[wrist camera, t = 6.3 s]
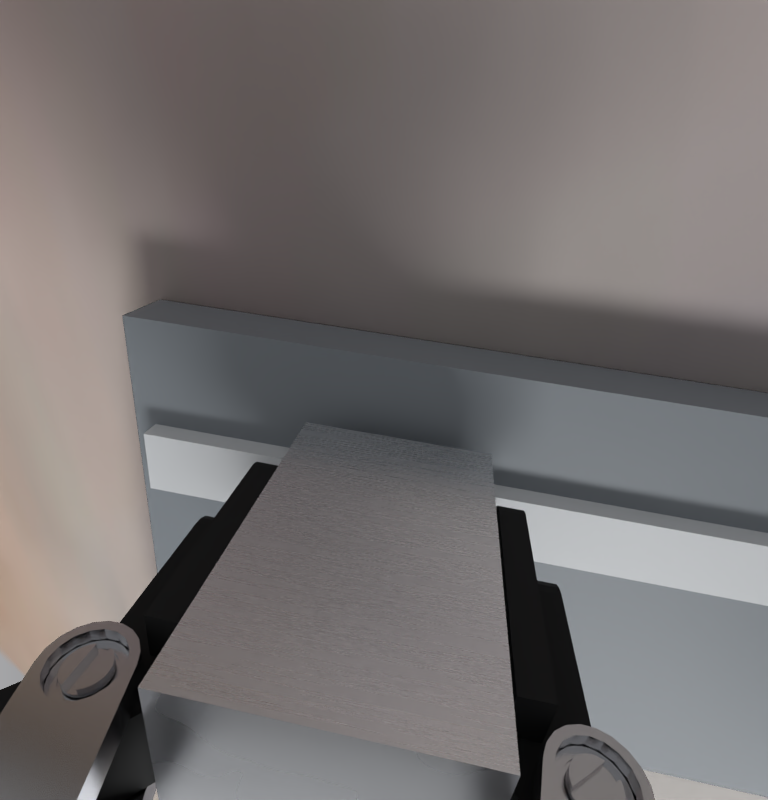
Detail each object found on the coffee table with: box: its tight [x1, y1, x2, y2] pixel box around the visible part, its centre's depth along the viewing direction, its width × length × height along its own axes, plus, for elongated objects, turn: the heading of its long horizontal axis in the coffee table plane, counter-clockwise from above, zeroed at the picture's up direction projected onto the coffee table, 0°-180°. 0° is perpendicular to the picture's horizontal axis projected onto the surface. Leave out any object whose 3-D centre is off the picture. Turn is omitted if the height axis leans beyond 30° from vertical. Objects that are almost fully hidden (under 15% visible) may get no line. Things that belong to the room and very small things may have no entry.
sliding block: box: [138, 422, 520, 800], centre depth 9 cm, size 4×7×6 cm, turn 174°
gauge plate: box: [123, 300, 768, 797], centre depth 10 cm, size 28×12×8 cm, turn 84°
